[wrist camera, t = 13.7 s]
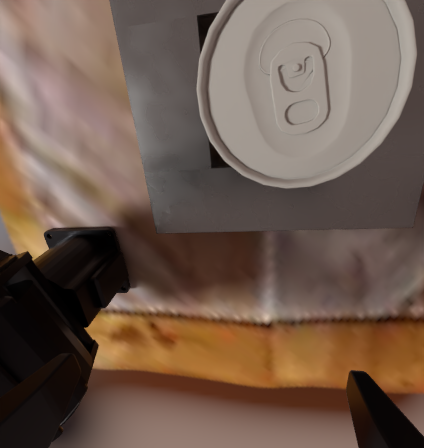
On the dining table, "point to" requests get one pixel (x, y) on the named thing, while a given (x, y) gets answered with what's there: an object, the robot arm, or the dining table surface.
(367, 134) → the beverage can
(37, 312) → the robot arm
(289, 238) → the dining table surface
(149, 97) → the block
